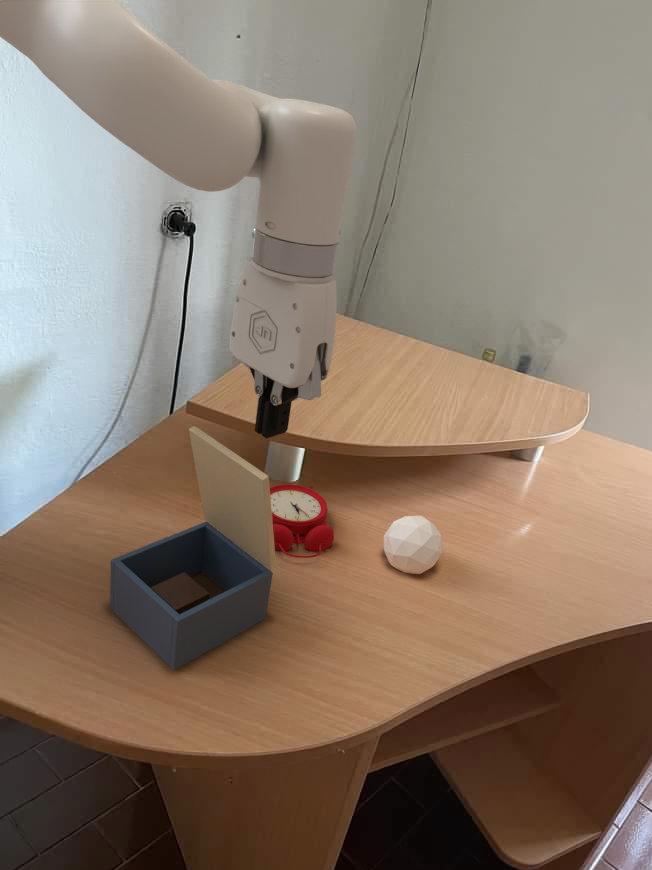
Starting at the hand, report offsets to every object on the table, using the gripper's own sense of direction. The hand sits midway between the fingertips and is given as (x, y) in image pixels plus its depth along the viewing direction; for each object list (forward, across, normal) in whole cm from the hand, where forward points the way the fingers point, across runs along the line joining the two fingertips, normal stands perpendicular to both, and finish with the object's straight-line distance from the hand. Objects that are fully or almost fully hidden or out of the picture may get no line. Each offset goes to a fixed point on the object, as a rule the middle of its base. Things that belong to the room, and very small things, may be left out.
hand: (271, 431), depth 72 cm
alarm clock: (+22, -5, +12) cm, 26 cm away
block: (+21, 0, -10) cm, 23 cm away
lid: (+7, 0, -4) cm, 9 cm away
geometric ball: (+22, +8, +20) cm, 31 cm away
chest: (+22, 0, -9) cm, 23 cm away
